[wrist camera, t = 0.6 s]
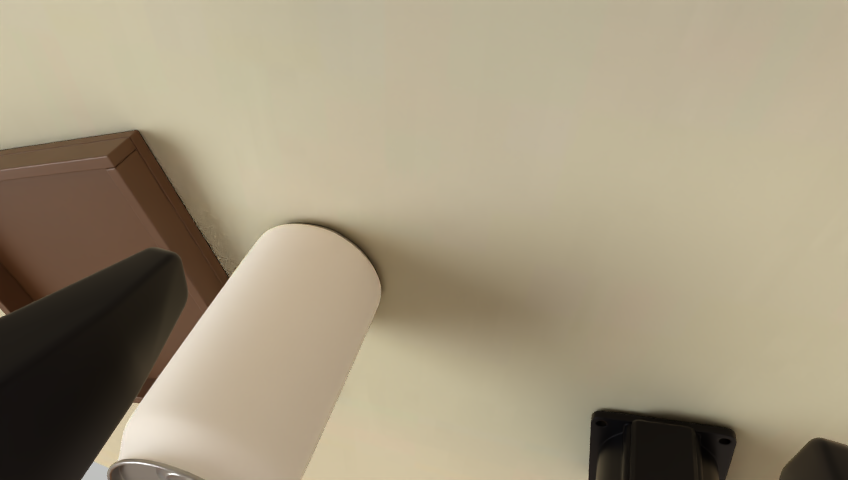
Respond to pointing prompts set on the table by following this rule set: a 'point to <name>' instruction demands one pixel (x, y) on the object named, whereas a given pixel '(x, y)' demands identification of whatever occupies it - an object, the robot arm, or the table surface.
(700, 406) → the table surface
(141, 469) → the can
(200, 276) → the tray
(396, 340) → the table surface
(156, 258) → the robot arm
